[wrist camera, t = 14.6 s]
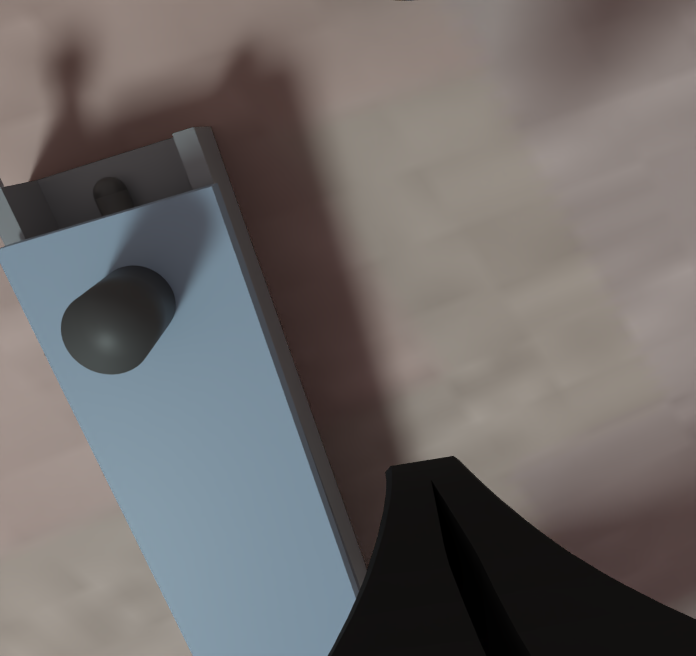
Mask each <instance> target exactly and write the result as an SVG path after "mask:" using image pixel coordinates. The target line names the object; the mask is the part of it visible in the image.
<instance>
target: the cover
mask: <svg viewBox="0 0 696 656" xmlns="http://www.w3.org/2000/svg"><path fill="white" fill-rule="evenodd" d="M0 264H1V266H2V268H3V270H4V272H5V274H6V276H7V278H8V280H9V282H10V284H11V286H12V288H13V290H14V292H15V294H16V296H17V298H18V300H19V302H20V304H21V307H22V309H23V311H24V313H25V315H26V317H27V319H28V321H29V323H30V325H31V327H32V329H33V331H34V333H35V335H36V337H37V339H38V341H39V343H40V345H41V347H42V349H43V351H44V353H45V355H46V357H47V359H48V362H49V364H50V366H51V368H52V370H53V372H54V374H55V376H56V378H57V380H58V382H59V384H60V386H61V388H62V390H63V392H64V394H65V396H66V398H67V400H68V402H69V404H70V406H71V408H72V410H73V412H74V414H75V417H76V419H77V421H78V423H79V425H80V427H81V429H82V431H83V433H84V435H85V437H86V439H87V441H88V443H89V445H90V447H91V449H92V451H93V453H94V455H95V457H96V459H97V461H98V463H99V465H100V467H101V469H102V472H103V474H104V476H105V478H106V480H107V482H108V484H109V486H110V488H111V490H112V492H113V494H114V496H115V498H116V500H117V502H118V504H119V506H120V508H121V510H122V512H123V514H124V516H125V518H126V520H127V522H128V525H129V527H130V529H131V531H132V533H133V535H134V537H135V539H136V541H137V543H138V545H139V547H140V549H141V551H142V553H143V555H144V557H145V559H146V561H147V563H148V565H149V567H150V569H151V571H152V573H153V575H154V577H155V580H156V582H157V584H158V586H159V588H160V590H161V592H162V594H163V596H164V598H165V600H166V602H167V604H168V606H169V608H170V610H171V612H172V614H173V616H174V618H175V620H176V622H177V624H178V626H179V628H180V630H181V632H182V635H183V637H184V639H185V641H186V643H187V645H188V647H189V649H190V651H191V653H192V655H193V656H328V654H329V652H330V651H331V649H332V647H333V645H334V643H335V641H336V639H337V637H338V635H339V633H340V631H341V629H342V627H343V625H344V623H345V621H346V620H347V618H348V615H349V613H350V611H351V609H352V607H353V604H354V602H355V600H356V597H357V595H358V593H359V590H358V587H357V584H356V581H355V579H354V576H353V573H352V570H351V567H350V564H349V561H348V558H347V555H346V553H345V550H344V547H343V544H342V541H341V538H340V535H339V532H338V529H337V527H336V524H335V521H334V518H333V515H332V512H331V509H330V506H329V503H328V501H327V498H326V495H325V492H324V489H323V486H322V483H321V480H320V477H319V475H318V472H317V469H316V466H315V463H314V460H313V457H312V454H311V451H310V449H309V446H308V443H307V440H306V437H305V434H304V431H303V428H302V425H301V423H300V420H299V417H298V414H297V411H296V408H295V405H294V402H293V399H292V397H291V394H290V391H289V388H288V385H287V382H286V379H285V376H284V373H283V370H282V368H281V365H280V362H279V359H278V356H277V353H276V350H275V347H274V344H273V342H272V339H271V336H270V333H269V330H268V327H267V324H266V321H265V318H264V316H263V313H262V310H261V307H260V304H259V301H258V298H257V295H256V292H255V290H254V287H253V284H252V281H251V278H250V275H249V272H248V269H247V266H246V264H245V261H244V258H243V255H242V252H241V249H240V246H239V243H238V240H237V238H236V235H235V232H234V229H233V226H232V223H231V220H230V217H229V214H228V212H227V209H226V206H225V203H224V200H223V197H222V194H221V191H220V188H219V186H218V183H215V184H211V185H208V186H205V187H201V188H198V189H194V190H191V191H188V192H184V193H181V194H177V195H174V196H171V197H167V198H164V199H161V200H157V201H154V202H150V203H147V204H144V205H140V206H137V207H133V208H130V209H127V210H123V211H120V212H116V213H113V214H110V215H106V216H103V217H100V218H96V219H93V220H89V221H86V222H83V223H79V224H76V225H72V226H69V227H66V228H62V229H59V230H55V231H52V232H49V233H45V234H42V235H39V236H35V237H32V238H28V239H25V240H22V241H18V242H15V243H12V244H9V245H7V246H4V247H2V248H0Z"/></svg>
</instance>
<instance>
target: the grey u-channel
mask: <svg viewBox="0 0 696 656" xmlns="http://www.w3.org/2000/svg"><path fill="white" fill-rule="evenodd" d="M172 135H173V138H170V139H167V140H164V141H160V142H157V143H154V144H151V145H148V146H144V147H141V148H138V149H135V150H132V151H129V152H125V153H122V154H119V155H116V156H113V157H109V158H106V159H103V160H100V161H97V162H93V163H90V164H87V165H84V166H81V167H78V168H74V169H71V170H68V171H65V172H62V173H58V174H55V175H52V176H49V177H46V178H43V179H39V180H36V181H31V182H26V183H21V184H16V185H11V186H6V187H4V185H3V183H2V181H1V179H0V236H1V238H2V240H3V242H4V244H5V246H7V245H9V244H12V243H15V242H18V241H22V240H25V239H28V238H32V237H35V236H39V235H42V234H45V233H49V232H52V231H55V230H59V229H62V228H66V227H69V226H72V225H76V224H79V223H83V222H86V221H89V220H93V219H96V218H100V217H103V216H106V215H110V214H113V213H116V212H120V211H123V210H127V209H130V208H133V207H137V206H140V205H144V204H147V203H150V202H154V201H157V200H161V199H164V198H167V197H171V196H174V195H177V194H181V193H184V192H188V191H191V190H194V189H198V188H201V187H205V186H208V185H211V184H215V183H218V186H219V188H220V191H221V194H222V197H223V200H224V203H225V206H226V209H227V212H228V214H229V217H230V220H231V223H232V226H233V229H234V232H235V235H236V238H237V240H238V243H239V246H240V249H241V252H242V255H243V258H244V261H245V264H246V266H247V269H248V272H249V275H250V278H251V281H252V284H253V287H254V290H255V292H256V295H257V298H258V301H259V304H260V307H261V310H262V313H263V316H264V318H265V321H266V324H267V327H268V330H269V333H270V336H271V339H272V342H273V344H274V347H275V350H276V353H277V356H278V359H279V362H280V365H281V368H282V370H283V373H284V376H285V379H286V382H287V385H288V388H289V391H290V394H291V397H292V399H293V402H294V405H295V408H296V411H297V414H298V417H299V420H300V423H301V425H302V428H303V431H304V434H305V437H306V440H307V443H308V446H309V449H310V451H311V454H312V457H313V460H314V463H315V466H316V469H317V472H318V475H319V477H320V480H321V483H322V486H323V489H324V492H325V495H326V498H327V501H328V503H329V506H330V509H331V512H332V515H333V518H334V521H335V524H336V527H337V529H338V532H339V535H340V538H341V541H342V544H343V547H344V550H345V553H346V555H347V558H348V561H349V564H350V567H351V570H352V573H353V576H354V579H355V581H356V584H357V587H358V590H360V588H361V585H362V583H363V580H364V577H365V575H366V572H367V568H366V566H365V563H364V560H363V557H362V554H361V551H360V549H359V546H358V543H357V540H356V537H355V534H354V532H353V529H352V526H351V523H350V520H349V517H348V515H347V512H346V509H345V506H344V503H343V500H342V498H341V495H340V492H339V489H338V486H337V483H336V481H335V478H334V475H333V472H332V469H331V466H330V464H329V461H328V458H327V455H326V452H325V449H324V447H323V444H322V441H321V438H320V435H319V432H318V430H317V427H316V424H315V421H314V418H313V415H312V413H311V410H310V407H309V404H308V401H307V398H306V396H305V393H304V390H303V387H302V384H301V381H300V379H299V376H298V373H297V370H296V367H295V364H294V362H293V359H292V356H291V353H290V350H289V347H288V345H287V342H286V339H285V336H284V333H283V330H282V328H281V325H280V322H279V319H278V316H277V313H276V311H275V308H274V305H273V302H272V299H271V296H270V294H269V291H268V288H267V285H266V282H265V279H264V277H263V274H262V271H261V268H260V265H259V262H258V260H257V257H256V254H255V251H254V248H253V245H252V243H251V240H250V237H249V234H248V231H247V228H246V226H245V223H244V220H243V217H242V214H241V211H240V209H239V206H238V203H237V200H236V197H235V194H234V192H233V189H232V186H231V183H230V180H229V177H228V175H227V172H226V169H225V166H224V163H223V160H222V158H221V155H220V152H219V149H218V146H217V143H216V141H215V138H214V135H213V132H212V129H211V127H192V128H189V129H186V130H183V131H179V132H176V133H173V134H172ZM1 187H2V188H1Z"/></svg>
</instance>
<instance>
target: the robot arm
mask: <svg viewBox="0 0 696 656" xmlns="http://www.w3.org/2000/svg"><path fill="white" fill-rule="evenodd" d="M385 474H386V498H385V504H384V511H383V515H382V520H381V524H380V529H379V533H378V537H377V541H376V544H375V547H374V550H373V553H372V557H371V560H370V563H369V566H368V569H367V572H366V575H365V577H364V580H363V583H362V585H361V588H360V590H359V593H358V595H357V597H356V600H355V602H354V604H353V607H352V609H351V611H350V613H349V615H348V618H347V620H346V621H345V623H344V625H343V627H342V629H341V631H340V633H339V635H338V637H337V639H336V641H335V643H334V645H333V647H332V649H331V651H330V652H329V654H328V656H696V619H694V618H692V617H689V616H687V615H685V614H683V613H681V612H678V611H676V610H674V609H672V608H670V607H667V606H665V605H663V604H661V603H659V602H657V601H655V600H653V599H651V598H649V597H647V596H645V595H644V594H642V593H640V592H638V591H636V590H634V589H632V588H630V587H628V586H626V585H624V584H622V583H620V582H618V581H617V580H615V579H613V578H611V577H609V576H608V575H606V574H604V573H602V572H601V571H599V570H598V569H596V568H594V567H593V566H591V565H589V564H588V563H586V562H584V561H583V560H581V559H579V558H578V557H576V556H575V555H573V554H571V553H570V552H568V551H567V550H565V549H564V548H563V547H561V546H560V545H558V544H557V543H555V542H554V541H553V540H551V539H550V538H549V537H547V536H546V535H544V534H543V533H542V532H540V531H539V530H538V529H536V528H535V527H534V526H533V525H531V524H530V523H529V522H527V521H526V520H525V519H524V518H522V517H521V516H520V515H519V514H518V513H516V512H515V511H514V510H513V509H512V508H510V507H509V506H508V505H507V504H506V503H504V502H503V501H502V500H501V499H500V498H499V497H497V496H496V495H495V494H494V493H493V492H492V491H491V490H490V489H489V488H487V487H486V486H485V485H484V484H483V483H482V482H481V481H480V480H479V479H478V478H477V477H476V476H475V475H474V474H473V473H472V472H470V471H469V470H468V469H467V468H466V467H465V466H464V465H463V464H462V463H461V462H460V461H459V460H458V459H457V458H455V457H454V456H450V457H444V458H438V459H432V460H426V461H420V462H413V463H407V464H401V465H395V466H390V467H389V469H388V470H387V471H386V472H385Z"/></svg>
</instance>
